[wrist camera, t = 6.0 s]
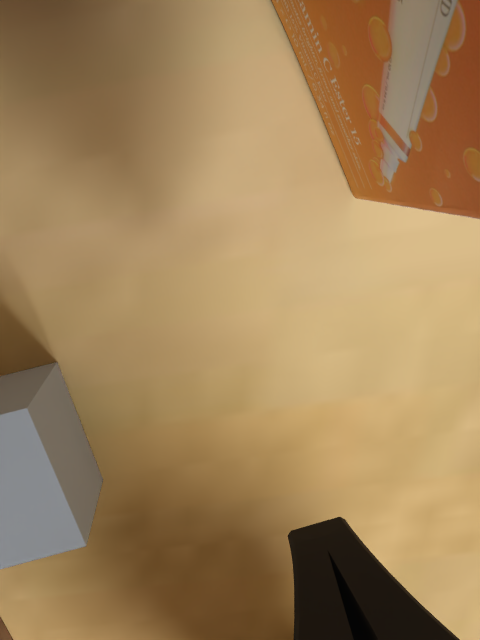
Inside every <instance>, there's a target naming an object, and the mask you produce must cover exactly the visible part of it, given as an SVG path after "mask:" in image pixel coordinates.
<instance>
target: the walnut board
mask: <svg viewBox="0 0 480 640" xmlns="http://www.w3.org/2000/svg"><path fill="white" fill-rule="evenodd" d="M0 640H12V638H11V636H10V634H9V632H8V631H7V629H6V627H5V625H4V624H3V622H2V620H1V618H0Z"/></svg>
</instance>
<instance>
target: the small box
mask: <svg viewBox="0 0 480 640" xmlns="http://www.w3.org/2000/svg"><path fill="white" fill-rule="evenodd" d="M271 1H272V3H273V5H274V7H275V9H276V11H277V13H278V15H279V17H280V19H281V22H282V24H283V26H284V29H285V31H286V33H287V35H288V38H289V40H290V42H291V44H292V47H293V49H294V51H295V54H296V56H297V58H298V61H299V63H300V65H301V68H302V70H303V73H304V75H305V78H306V80H307V82H308V85H309V87H310V89H311V92H312V94H313V96H314V99H315V101H316V103H317V106H318V108H319V111H320V113H321V116H322V118H323V121H324V123H325V125H326V128H327V130H328V133H329V135H330V138H331V140H332V143H333V145H334V148H335V150H336V153H337V155H338V158H339V160H340V163H341V165H342V168H343V170H344V173H345V176H346V178H347V180H348V183H349V185H350V188H351V191H352V194H353V195H354V197H355V198H357V199H362V200H368V201H374V202H380V203H386V204H392V205H397V206H403V207H409V208H414V209H422V210H427V211H433V212H439V213H446V214H452V215H458V216H464V217H470V218H476V219H480V0H271Z"/></svg>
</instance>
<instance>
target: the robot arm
mask: <svg viewBox="0 0 480 640" xmlns="http://www.w3.org/2000/svg"><path fill="white" fill-rule="evenodd" d="M288 539H289V543H290V547H291V553H292V561H293V572H294V617H295V618H294V640H460V639H458V638H457V637H456V636H455V635H454V634H453V633H452V632H450V631H449V630H448V629H447V628H446V627H445V626H444V625H443V624H442V623H440V622H439V621H438V620H437V619H436V618H435V617H434V616H433V615H432V614H431V613H430V612H429V611H428V610H426V609H425V608H424V607H423V606H422V605H421V604H420V603H419V602H418V601H417V600H416V599H415V598H414V597H413V596H412V595H411V594H410V593H409V592H408V591H407V590H406V589H405V588H404V587H403V586H402V585H401V584H400V583H399V582H398V581H397V580H396V579H395V578H394V577H393V576H392V575H391V574H390V573H389V572H388V571H387V569H386V568H385V567H384V566H383V565H382V564H381V563H380V562H379V561H378V560H377V558H376V557H375V556H374V555H373V554H372V553H371V552H370V551H369V549H368V548H367V547H366V546H365V545H364V544H363V542H362V541H361V540H360V539H359V537H358V536H357V535H356V534H355V532H354V531H353V530H352V529H351V527H350V526H349V524H348V523H347V522H346V520H345V519H343V518H341V517H337V518H334V519H330V520H327V521H323V522H320V523H316V524H313V525H309V526H306V527H302V528H299V529H295V530H292V531H291V532H290V533H289V535H288Z"/></svg>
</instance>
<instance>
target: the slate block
mask: <svg viewBox="0 0 480 640" xmlns="http://www.w3.org/2000/svg"><path fill="white" fill-rule="evenodd" d="M102 482H103V478H102V476H101V473H100V471H99V468H98V465H97V463H96V460H95V458H94V455H93V453H92V450H91V447H90V445H89V442H88V440H87V437H86V435H85V432H84V430H83V427H82V424H81V422H80V419H79V417H78V414H77V412H76V409H75V406H74V404H73V401H72V399H71V396H70V394H69V391H68V388H67V386H66V383H65V381H64V378H63V376H62V373H61V370H60V368H59V365H58V363H57V362H55V363H51V364H47V365H43V366H39V367H35V368H31V369H27V370H23V371H19V372H15V373H11V374H7V375H3V376H0V569H3V568H7V567H11V566H15V565H18V564H22V563H26V562H29V561H33V560H37V559H41V558H44V557H48V556H52V555H56V554H59V553H63V552H67V551H70V550H74V549H78V548H82V547H85V546H87V542H88V538H89V534H90V530H91V526H92V522H93V518H94V514H95V510H96V506H97V502H98V498H99V494H100V490H101V486H102Z"/></svg>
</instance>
